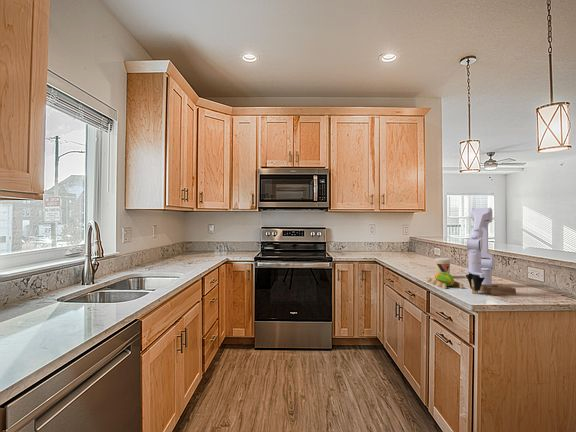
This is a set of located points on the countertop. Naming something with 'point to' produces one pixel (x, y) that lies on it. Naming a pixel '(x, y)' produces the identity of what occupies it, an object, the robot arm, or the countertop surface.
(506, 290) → the walnut block
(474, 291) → the peg
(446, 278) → the green orange papaya
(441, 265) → the coffee cup
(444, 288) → the chock rails
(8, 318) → the countertop surface
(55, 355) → the countertop surface
